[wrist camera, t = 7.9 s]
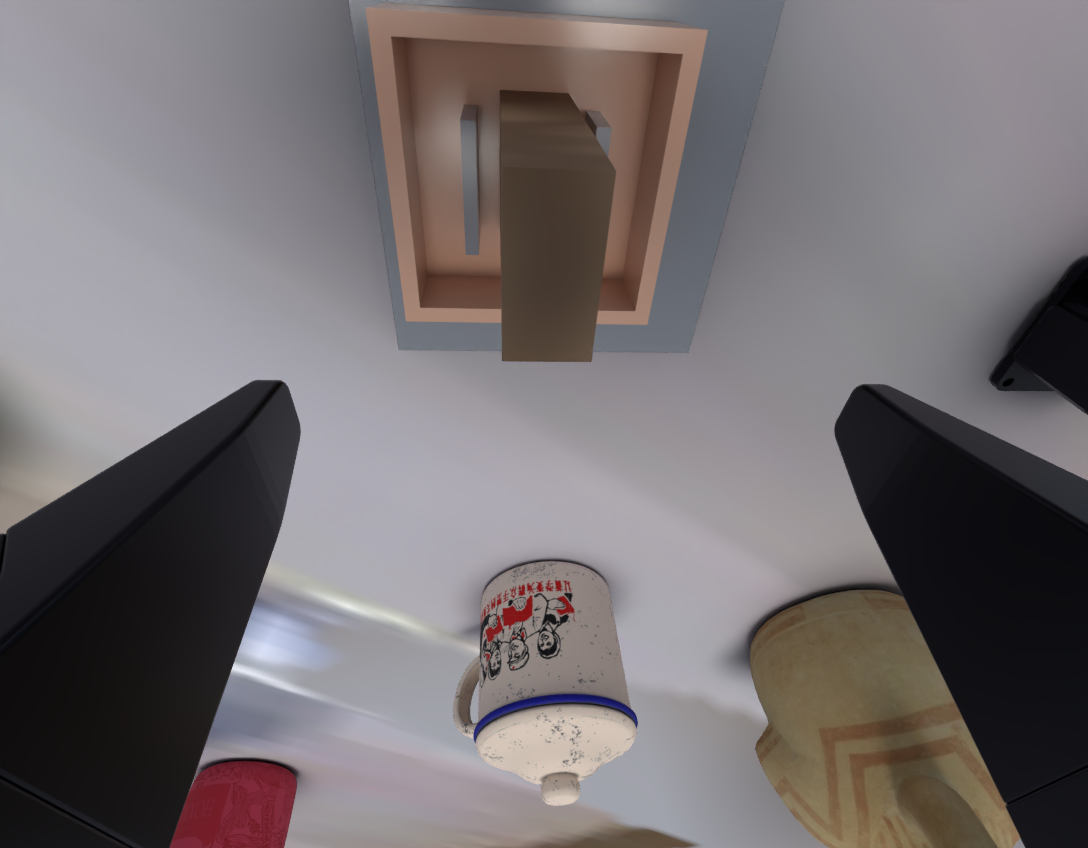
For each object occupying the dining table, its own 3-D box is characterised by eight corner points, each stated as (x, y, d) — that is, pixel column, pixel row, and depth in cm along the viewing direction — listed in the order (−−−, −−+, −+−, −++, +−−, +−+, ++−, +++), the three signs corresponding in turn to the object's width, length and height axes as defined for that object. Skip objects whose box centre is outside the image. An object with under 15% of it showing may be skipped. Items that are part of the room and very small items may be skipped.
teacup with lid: (564, 536, 32) (590, 756, 23) (636, 599, 37) (680, 797, 28) (416, 608, 35) (390, 818, 27) (500, 655, 41) (500, 845, 32)
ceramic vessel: (742, 697, 49) (897, 1150, 30) (698, 597, 37) (909, 1248, 18) (937, 652, 46) (1250, 1132, 27) (958, 525, 34) (1557, 1239, 15)
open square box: (675, 21, 15) (708, 29, 13) (630, 285, 20) (647, 324, 18) (386, 2, 14) (365, 7, 12) (416, 280, 19) (405, 321, 17)
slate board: (800, -116, 14) (818, -121, 13) (682, 340, 23) (688, 352, 22) (334, -159, 13) (323, -168, 12) (402, 336, 22) (398, 349, 21)
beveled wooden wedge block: (568, 93, 15) (616, 170, 9) (558, 230, 18) (591, 361, 12) (499, 89, 15) (502, 166, 9) (500, 228, 18) (502, 361, 12)
